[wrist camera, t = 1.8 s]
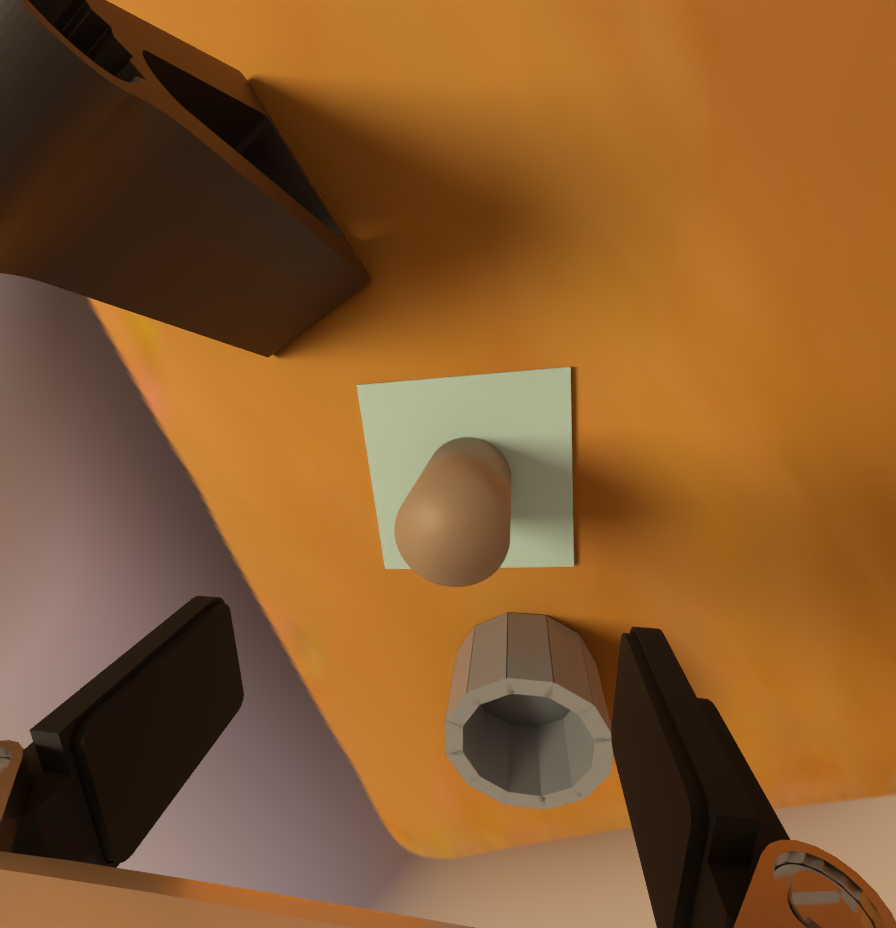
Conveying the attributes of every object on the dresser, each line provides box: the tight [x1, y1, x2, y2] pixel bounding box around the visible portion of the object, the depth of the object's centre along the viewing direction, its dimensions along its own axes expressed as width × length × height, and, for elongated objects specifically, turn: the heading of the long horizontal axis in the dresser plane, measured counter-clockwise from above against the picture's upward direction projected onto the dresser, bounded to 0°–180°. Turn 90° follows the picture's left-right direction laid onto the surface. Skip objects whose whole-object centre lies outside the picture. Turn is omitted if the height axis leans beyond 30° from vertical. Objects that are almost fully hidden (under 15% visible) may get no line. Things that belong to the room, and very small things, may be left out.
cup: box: [445, 613, 613, 809], centre depth 22 cm, size 7×7×4 cm
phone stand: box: [0, 0, 371, 357], centre depth 13 cm, size 9×6×12 cm, turn 33°
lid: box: [357, 367, 574, 587], centre depth 18 cm, size 10×10×7 cm
